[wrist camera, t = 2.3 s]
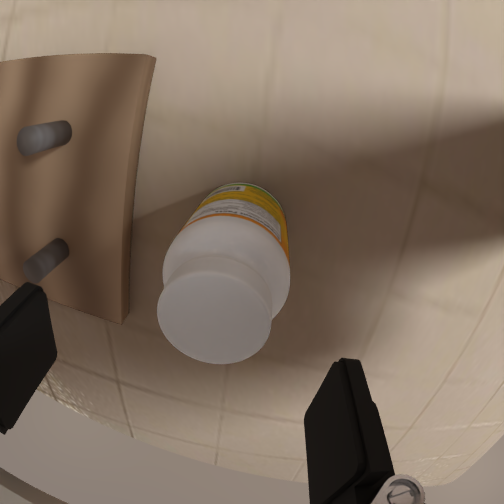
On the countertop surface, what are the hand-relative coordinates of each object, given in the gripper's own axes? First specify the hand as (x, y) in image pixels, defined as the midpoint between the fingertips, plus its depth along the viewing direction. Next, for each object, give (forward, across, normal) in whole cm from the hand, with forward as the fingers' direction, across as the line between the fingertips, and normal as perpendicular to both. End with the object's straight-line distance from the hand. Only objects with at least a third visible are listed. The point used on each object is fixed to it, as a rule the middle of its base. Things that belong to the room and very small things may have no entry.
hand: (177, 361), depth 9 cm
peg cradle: (+12, +15, 0) cm, 19 cm away
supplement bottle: (+12, -1, 0) cm, 12 cm away
